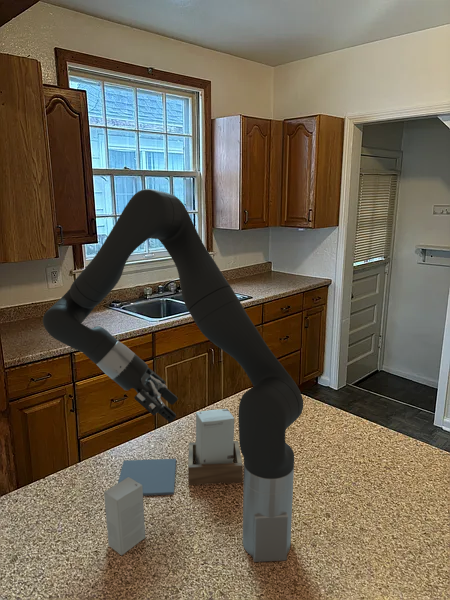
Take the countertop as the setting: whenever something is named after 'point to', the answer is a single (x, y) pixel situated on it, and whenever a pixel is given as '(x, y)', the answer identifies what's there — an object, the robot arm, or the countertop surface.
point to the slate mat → (151, 475)
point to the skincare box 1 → (124, 515)
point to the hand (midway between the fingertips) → (174, 409)
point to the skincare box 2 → (214, 437)
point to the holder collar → (214, 469)
